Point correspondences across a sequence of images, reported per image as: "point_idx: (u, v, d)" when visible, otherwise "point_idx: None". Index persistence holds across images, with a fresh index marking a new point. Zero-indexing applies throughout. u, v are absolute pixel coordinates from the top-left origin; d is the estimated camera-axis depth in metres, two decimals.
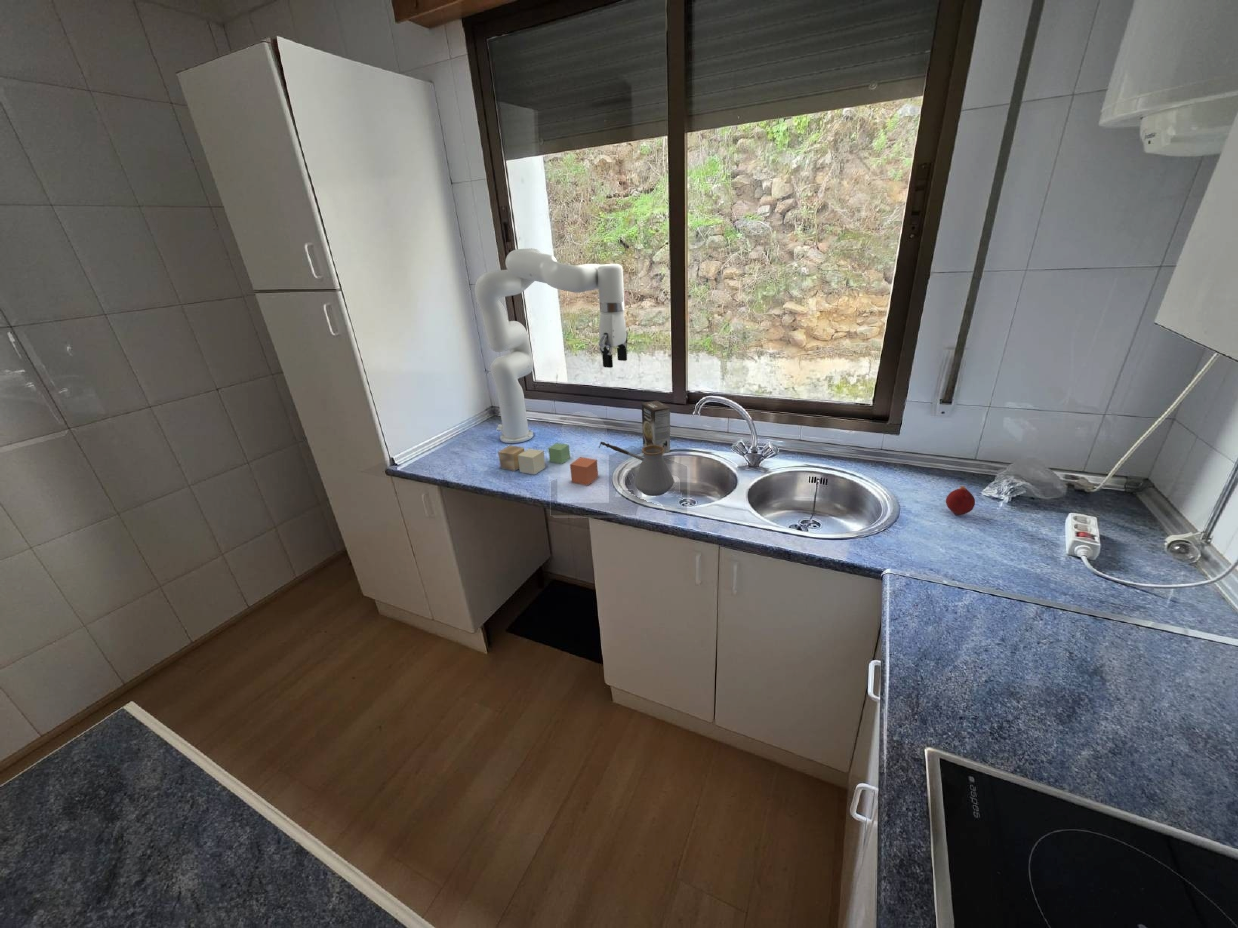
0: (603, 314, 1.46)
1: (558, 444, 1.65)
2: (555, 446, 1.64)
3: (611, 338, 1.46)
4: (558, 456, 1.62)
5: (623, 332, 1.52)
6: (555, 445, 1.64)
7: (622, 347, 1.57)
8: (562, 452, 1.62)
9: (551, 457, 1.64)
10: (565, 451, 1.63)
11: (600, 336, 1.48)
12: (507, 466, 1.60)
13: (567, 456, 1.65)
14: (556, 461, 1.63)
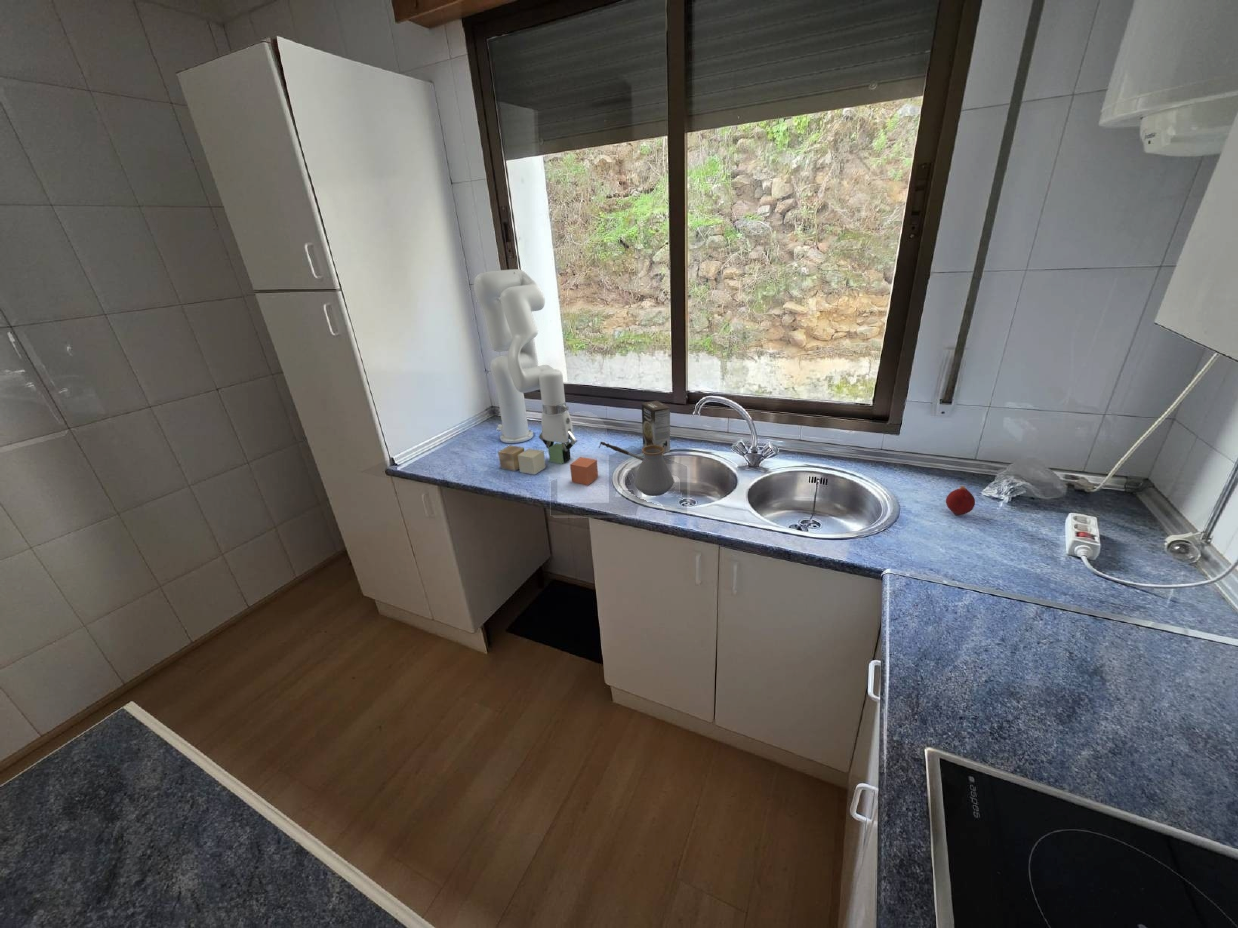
0: None
1: (558, 444, 1.65)
2: (555, 446, 1.64)
3: (542, 431, 1.62)
4: (558, 456, 1.62)
5: (558, 433, 1.58)
6: (555, 445, 1.64)
7: None
8: (562, 452, 1.62)
9: (551, 457, 1.64)
10: None
11: None
12: (507, 466, 1.60)
13: None
14: (556, 461, 1.63)
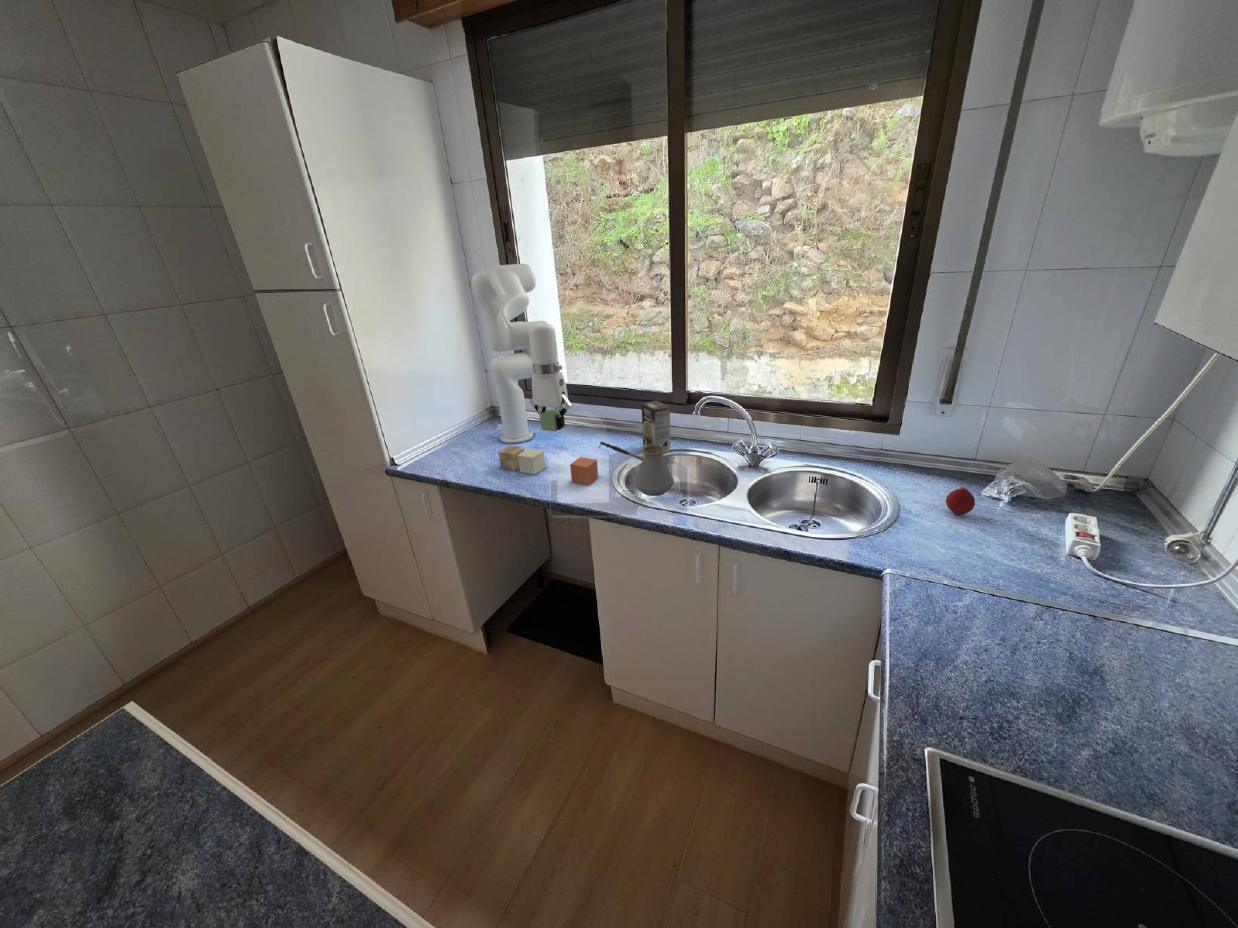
0: None
1: (551, 410, 1.48)
2: (547, 412, 1.47)
3: None
4: (550, 423, 1.45)
5: (550, 396, 1.42)
6: (548, 411, 1.48)
7: None
8: (555, 418, 1.45)
9: (543, 424, 1.47)
10: None
11: None
12: (507, 466, 1.60)
13: None
14: (549, 429, 1.47)
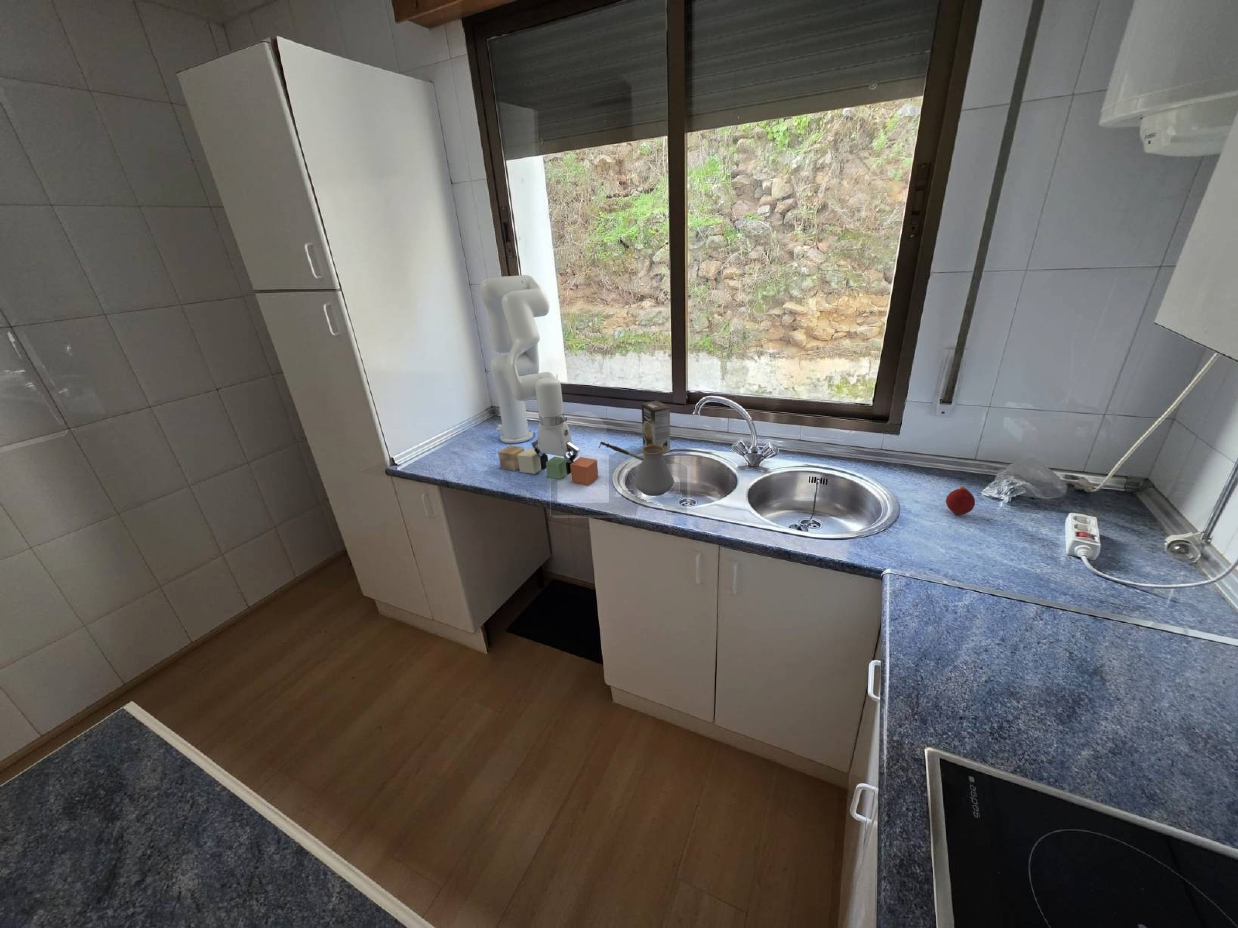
0: None
1: (556, 458, 1.54)
2: (553, 460, 1.53)
3: None
4: (556, 471, 1.51)
5: (556, 446, 1.48)
6: (553, 459, 1.54)
7: None
8: (560, 467, 1.51)
9: (549, 472, 1.53)
10: (564, 465, 1.52)
11: None
12: (507, 466, 1.60)
13: None
14: (554, 476, 1.52)
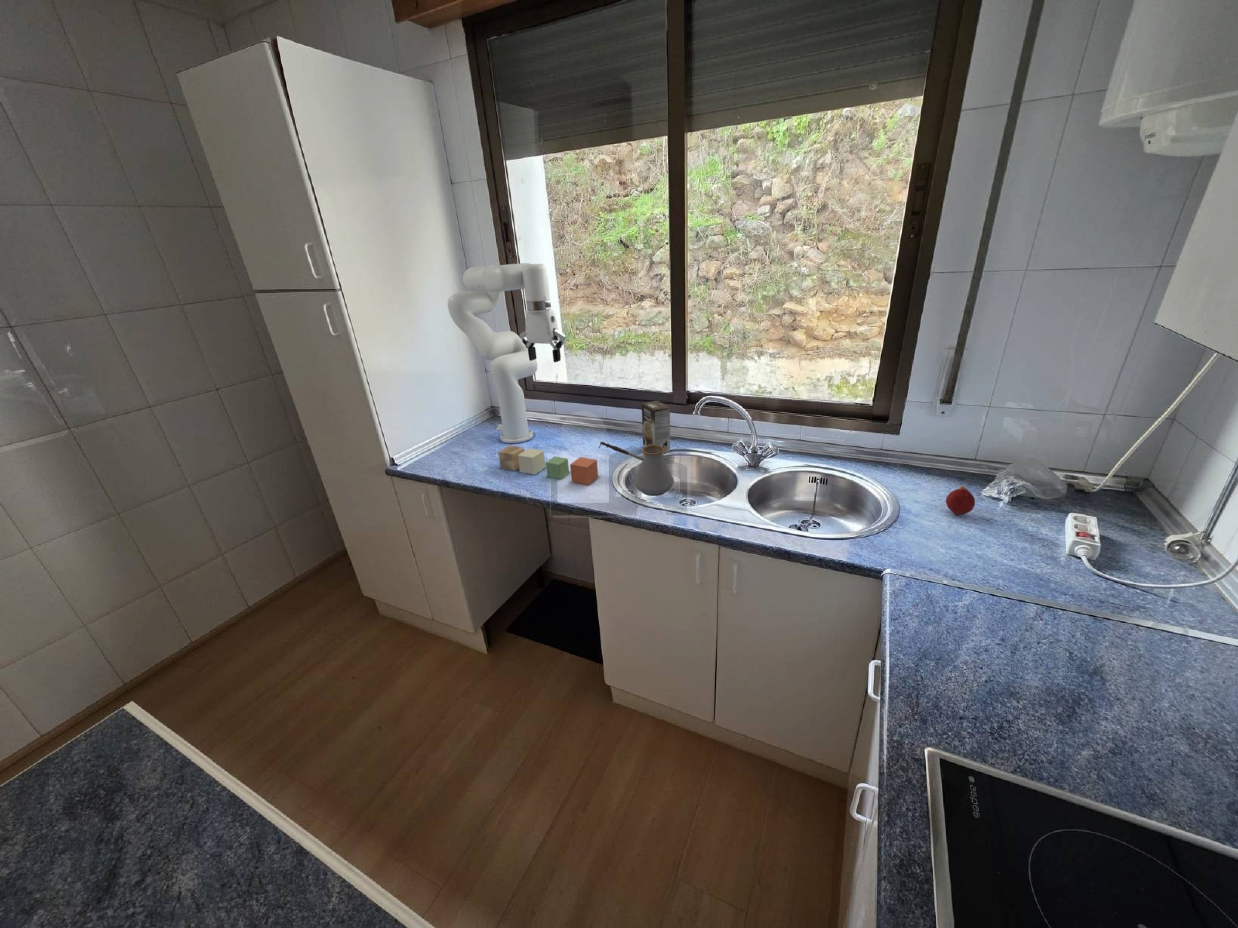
0: None
1: (556, 458, 1.54)
2: (553, 460, 1.53)
3: (526, 333, 1.57)
4: (556, 471, 1.51)
5: (542, 332, 1.53)
6: (553, 459, 1.54)
7: None
8: (560, 467, 1.51)
9: (549, 472, 1.53)
10: (564, 465, 1.52)
11: None
12: (507, 466, 1.60)
13: (566, 470, 1.54)
14: (554, 476, 1.52)
